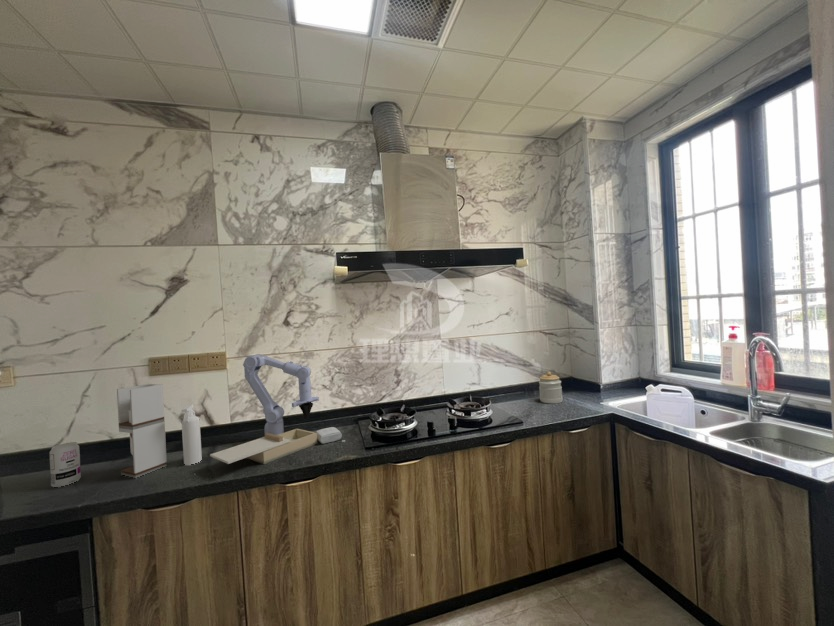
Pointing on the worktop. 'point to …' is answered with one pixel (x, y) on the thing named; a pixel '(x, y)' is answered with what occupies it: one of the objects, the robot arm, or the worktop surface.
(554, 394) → the jar
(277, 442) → the sliding box lid
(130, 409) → the white wood-trimmed shelf
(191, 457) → the fire extinguisher
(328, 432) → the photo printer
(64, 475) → the supplement can
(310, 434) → the box
